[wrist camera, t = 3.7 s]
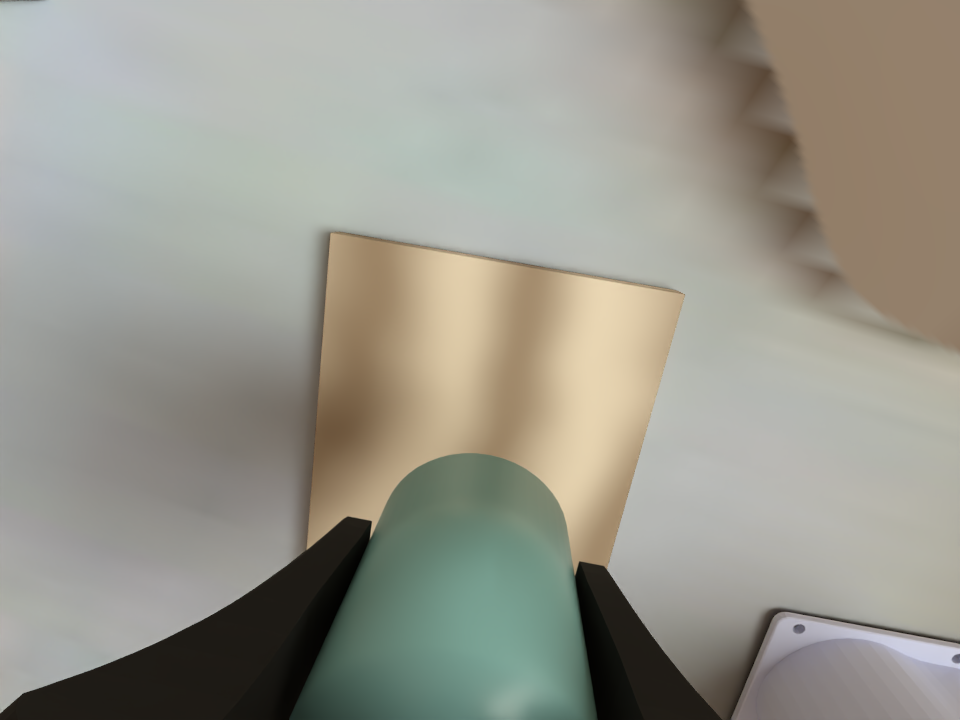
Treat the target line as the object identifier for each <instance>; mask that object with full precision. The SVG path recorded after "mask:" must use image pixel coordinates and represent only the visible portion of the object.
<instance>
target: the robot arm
mask: <svg viewBox="0 0 960 720" xmlns="http://www.w3.org/2000/svg"><path fill="white" fill-rule="evenodd" d="M371 526H372V521H370V520H365V519H360V518H354V517H349V516H347V517H346V518H344V519H342V520H341V521H340V522H339V523H338V524H337V525H336V526H335V527H333V528H332V529H331V530H330V531H329V532H328V533H326V534H325V535H324V536H323V537H322V538H321V539H319V540H318V541H317V542H316V543H315V544H313V545H312V546H311V547H310V548H309V549H307V550H306V551H305V552H304V553H302V554H301V555H300V556H298V557H297V558H296V559H295V560H293V561H292V562H291V563H290V564H288V565H287V566H286V567H284V568H283V569H282V570H280V571H279V572H277V573H276V574H275V575H273V576H272V577H270V578H269V579H268V580H266V581H265V582H263V583H262V584H260V585H259V586H258V587H256V588H255V589H253V590H252V591H250V592H249V593H247V594H246V595H244V596H243V597H241V598H239V599H238V600H236V601H235V602H233V603H231V604H230V605H228V606H226V607H225V608H223V609H221V610H220V611H218V612H216V613H214V614H213V615H211V616H209V617H207V618H205V619H204V620H202V621H200V622H198V623H196V624H194V625H192V626H190V627H188V628H186V629H184V630H182V631H180V632H178V633H176V634H174V635H172V636H170V637H168V638H166V639H164V640H162V641H160V642H158V643H155V644H153V645H151V646H149V647H146V648H144V649H142V650H140V651H137V652H135V653H133V654H130V655H128V656H125V657H123V658H120V659H118V660H116V661H113V662H111V663H108V664H106V665H103V666H101V667H98V668H95V669H93V670H90V671H87V672H84V673H82V674H79V675H76V676H73V677H70V678H67V679H64V680H62V681H59V682H56V683H53V684H50V685H47V686H44V687H42V688H39V689H36V690H32V691H29V692H26V693H23V694H22V695H21V696H20V697H19V698H17V699H16V700H15V701H14V702H13V703H12V704H11V705H9V706H8V707H7V708H6V709H5V710H4V711H3V712H1V713H0V720H289V718H290V716H291V714H292V712H293V709H294V707H295V705H296V703H297V700H298V698H299V696H300V694H301V692H302V689H303V687H304V685H305V683H306V680H307V678H308V676H309V674H310V672H311V669H312V667H313V665H314V663H315V660H316V658H317V656H318V654H319V652H320V649H321V647H322V645H323V643H324V640H325V638H326V636H327V634H328V632H329V629H330V627H331V625H332V623H333V620H334V618H335V616H336V614H337V612H338V609H339V607H340V605H341V603H342V601H343V598H344V596H345V594H346V592H347V589H348V587H349V585H350V583H351V581H352V578H353V576H354V574H355V572H356V569H357V567H358V565H359V563H360V561H361V558H362V556H363V554H364V552H365V549H366V547H367V545H368V543H369V541H370V534H371ZM575 581H576V587H577V593H578V599H579V606H580V612H581V618H582V624H583V631H584V637H585V643H586V650H587V656H588V662H589V668H590V675H591V681H592V687H593V693H594V700H595V706H596V712H597V719H598V720H722V719H721V718H720V717H719V716H718V715H717V714H716V712H715V711H714V710H713V709H712V708H711V707H710V706H709V705H708V704H707V703H706V701H705V700H704V699H703V698H702V697H701V696H700V695H699V694H698V693H697V692H696V690H695V689H694V688H693V687H692V686H691V685H690V683H689V682H688V681H687V680H686V679H685V678H684V676H683V675H682V674H681V673H680V671H679V670H678V669H677V668H676V666H675V665H674V664H673V663H672V661H671V660H670V659H669V658H668V656H667V655H666V654H665V653H664V651H663V650H662V649H661V647H660V646H659V645H658V643H657V642H656V641H655V639H654V638H653V637H652V635H651V634H650V633H649V631H648V630H647V628H646V627H645V626H644V624H643V623H642V621H641V620H640V619H639V617H638V616H637V614H636V613H635V611H634V610H633V608H632V607H631V605H630V604H629V602H628V601H627V599H626V598H625V596H624V595H623V593H622V592H621V590H620V589H619V587H618V586H617V584H616V583H615V581H614V580H613V578H612V577H611V575H610V574H609V572H608V571H607V569H606V568H605V566H602V565H597V564H592V563H586V562H581V561H579V563H578V567H577V571H576V574H575ZM798 624H799V625H798ZM795 625H798V626H796V627H794V626H795ZM731 720H960V644H958V643H952V642H947V641H942V640H936V639H931V638H925V637H920V636H915V635H909V634H904V633H898V632H893V631H888V630H882V629H877V628H871V627H866V626H861V625H855V624H850V623H844V622H839V621H834V620H828V619H823V618H817V617H812V616H807V615H801V614H796V613H790V612H780V613H778V614H776V615H775V616H774V618H773V619H772V621H771V624H770V626H769V629H768V631H767V633H766V636H765V638H764V641H763V643H762V646H761V648H760V650H759V653H758V655H757V658H756V660H755V662H754V665H753V667H752V670H751V672H750V674H749V677H748V679H747V682H746V684H745V687H744V689H743V691H742V694H741V696H740V699H739V701H738V703H737V706H736V708H735V711H734V713H733V715H732V718H731Z"/></svg>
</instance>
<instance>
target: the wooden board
mask: <svg viewBox="0 0 960 720" xmlns="http://www.w3.org/2000/svg"><path fill="white" fill-rule="evenodd" d="M684 297H685V294H683V293H681V292H679V291H677V290H671V289H665V288H660V287H654V286H648V285H642V284H637V283H631V282H625V281H619V280H614V279H608V278H602V277H596V276H591V275H585V274H579V273H573V272H568V271H562V270H556V269H550V268H545V267H539V266H533V265H527V264H522V263H516V262H510V261H504V260H499V259H493V258H487V257H481V256H476V255H470V254H464V253H458V252H453V251H447V250H441V249H436V248H430V247H424V246H418V245H413V244H407V243H401V242H395V241H390V240H384V239H378V238H372V237H367V236H361V235H355V234H349V233H344V232H334V233H330V246H329V260H328V273H327V286H326V299H325V313H324V326H323V339H322V352H321V365H320V379H319V392H318V405H317V418H316V432H315V445H314V458H313V471H312V484H311V498H310V511H309V524H308V537H307V549H309V548H310V547H311V546H312V545H313V544H315V543H316V542H317V541H318V540H319V539H321V538H322V537H323V536H324V535H325V534H326V533H328V532H329V531H330V530H331V529H332V528H333V527H335V526H336V525H337V524H338V523H339V522H340V521H341V520H342V519H344V518H346V517H347V516H349V517H354V518H360V519H365V520H370V521H372V526H371V534H370V538H371V536H372V534H373V532H374V529H375V527H376V525H377V523H378V521H379V518H380V516H381V514H382V512H383V509H384V507H385V505H386V503H387V501H388V499H389V497H390V495H391V493H392V492H393V490H394V489H395V488H396V486H397V485H398V484H399V482H400V481H401V480H402V479H403V478H405V477H406V476H407V475H408V474H409V473H410V472H412V471H413V470H414V469H416V468H417V467H419V466H421V465H423V464H425V463H427V462H429V461H431V460H434V459H437V458H439V457H444V456H448V455H452V454H461V453H478V454H486V455H492V456H496V457H500V458H503V459H506V460H509V461H511V462H514V463H516V464H518V465H520V466H521V467H523V468H525V469H527V470H528V471H530V472H531V473H532V474H534V475H535V476H537V477H538V478H539V479H540V480H541V481H542V482H543V483H544V484H545V485H546V486H547V487H548V488H549V490H550V491H551V492H552V493H553V495H554V496H555V498H556V499H557V501H558V503H559V505H560V507H561V509H562V511H563V513H564V517H565V521H566V524H567V530H568V537H569V543H570V549H571V555H572V562H573V568H574V574H576V571H577V567H578V563H579V561H581V562H586V563H592V564H597V565H602V566H605V568H606V569H607V567H608V563H609V560H610V556H611V553H612V549H613V546H614V542H615V539H616V535H617V532H618V528H619V525H620V521H621V518H622V514H623V511H624V507H625V504H626V500H627V497H628V493H629V490H630V486H631V482H632V479H633V475H634V472H635V468H636V465H637V461H638V458H639V454H640V451H641V447H642V444H643V440H644V437H645V433H646V430H647V426H648V423H649V419H650V416H651V412H652V409H653V405H654V402H655V398H656V395H657V391H658V388H659V384H660V381H661V377H662V374H663V370H664V367H665V363H666V360H667V356H668V353H669V349H670V346H671V342H672V339H673V335H674V332H675V328H676V325H677V321H678V318H679V314H680V311H681V307H682V304H683V300H684Z"/></svg>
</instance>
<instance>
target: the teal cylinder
mask: <svg viewBox="0 0 960 720" xmlns="http://www.w3.org/2000/svg"><path fill="white" fill-rule="evenodd" d="M289 720H598V719H597V712H596V706H595V700H594V693H593V687H592V681H591V675H590V668H589V662H588V656H587V650H586V643H585V637H584V631H583V624H582V618H581V612H580V606H579V599H578V593H577V587H576V581H575V574H574V568H573V562H572V555H571V549H570V543H569V537H568V530H567V524H566V521H565V517H564V513H563V511H562V509H561V507H560V505H559V503H558V501H557V499H556V498H555V496H554V495H553V493H552V492H551V491H550V490H549V488H548V487H547V486H546V485H545V484H544V483H543V482H542V481H541V480H540V479H539V478H538V477H537V476H535V475H534V474H532V473H531V472H530V471H528V470H527V469H525V468H523V467H521V466H520V465H518V464H516V463H514V462H511V461H509V460H506V459H503V458H500V457H496V456H492V455H486V454H478V453H461V454H452V455H448V456H444V457H439V458H437V459H434V460H431V461H429V462H427V463H425V464H423V465H421V466H419V467H417V468H416V469H414V470H413V471H412V472H410V473H409V474H408V475H407V476H406V477H405V478H403V479H402V480H401V481H400V482H399V484H398V485H397V486H396V488H395V489H394V490H393V492H392V493H391V495H390V497H389V499H388V501H387V503H386V505H385V507H384V509H383V512H382V514H381V516H380V518H379V521H378V523H377V525H376V527H375V529H374V532H373V534H372V536H371V538H370V541H369V543H368V545H367V547H366V549H365V552H364V554H363V556H362V558H361V561H360V563H359V565H358V567H357V569H356V572H355V574H354V576H353V578H352V581H351V583H350V585H349V587H348V589H347V592H346V594H345V596H344V598H343V601H342V603H341V605H340V607H339V609H338V612H337V614H336V616H335V618H334V620H333V623H332V625H331V627H330V629H329V632H328V634H327V636H326V638H325V640H324V643H323V645H322V647H321V649H320V652H319V654H318V656H317V658H316V660H315V663H314V665H313V667H312V669H311V672H310V674H309V676H308V678H307V680H306V683H305V685H304V687H303V689H302V692H301V694H300V696H299V698H298V700H297V703H296V705H295V707H294V709H293V712H292V714H291V716H290V718H289Z"/></svg>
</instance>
